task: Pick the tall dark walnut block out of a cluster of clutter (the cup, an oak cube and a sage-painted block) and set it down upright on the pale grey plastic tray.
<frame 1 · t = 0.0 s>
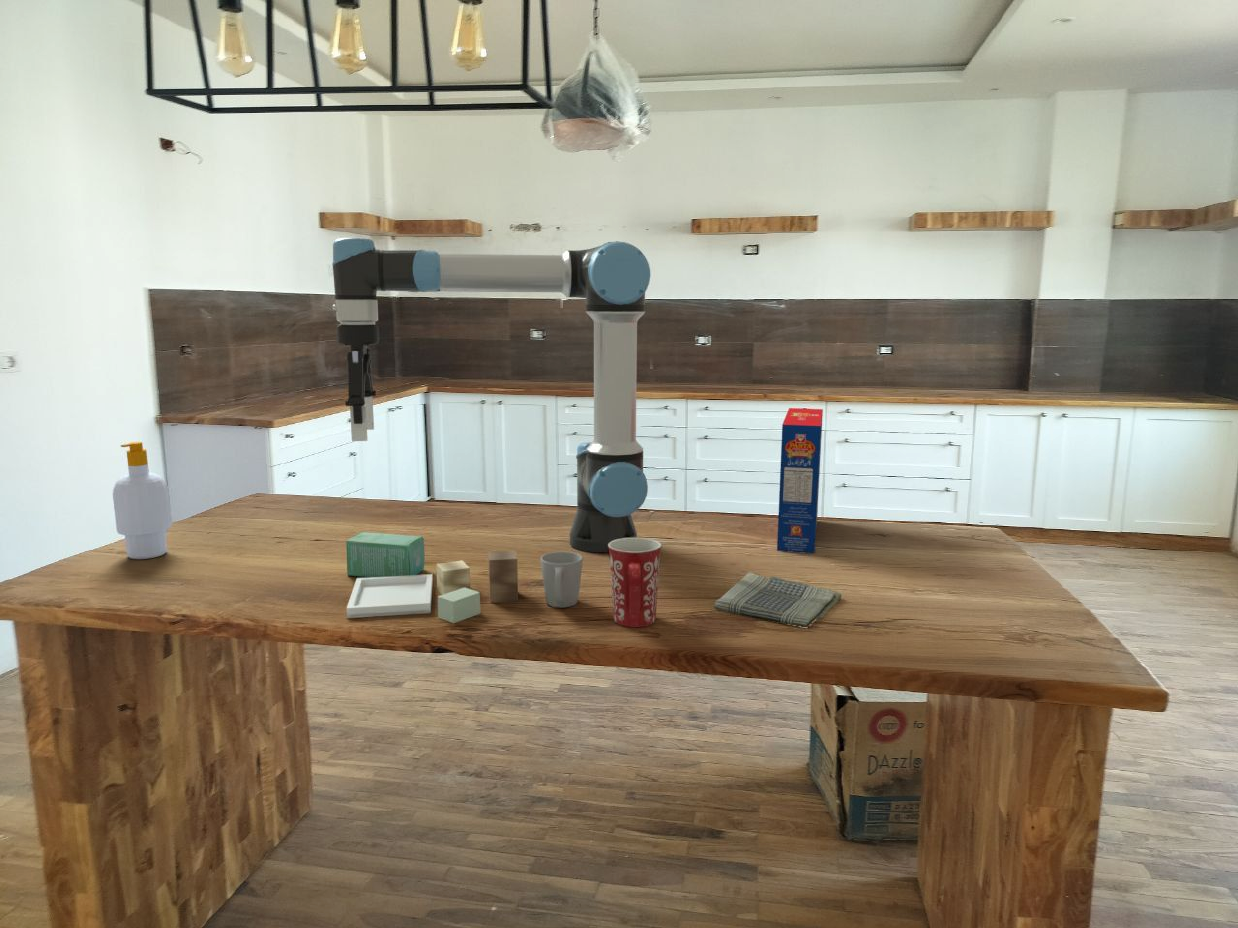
hand: (363, 435, 164), 28 cm above the table, fingers open, 13 cm apart
cup: (561, 605, 153), on the table
tray: (392, 599, 156), on the table
mug: (633, 624, 145), on the table
box: (387, 574, 171), on the table
soap bottle: (147, 555, 181), on the table
walnut block: (503, 597, 157), on the table
oak block: (453, 591, 160), on the table
sage block: (459, 616, 148), on the table
pasta box: (798, 535, 199), on the table
dish towel: (778, 607, 155), on the table
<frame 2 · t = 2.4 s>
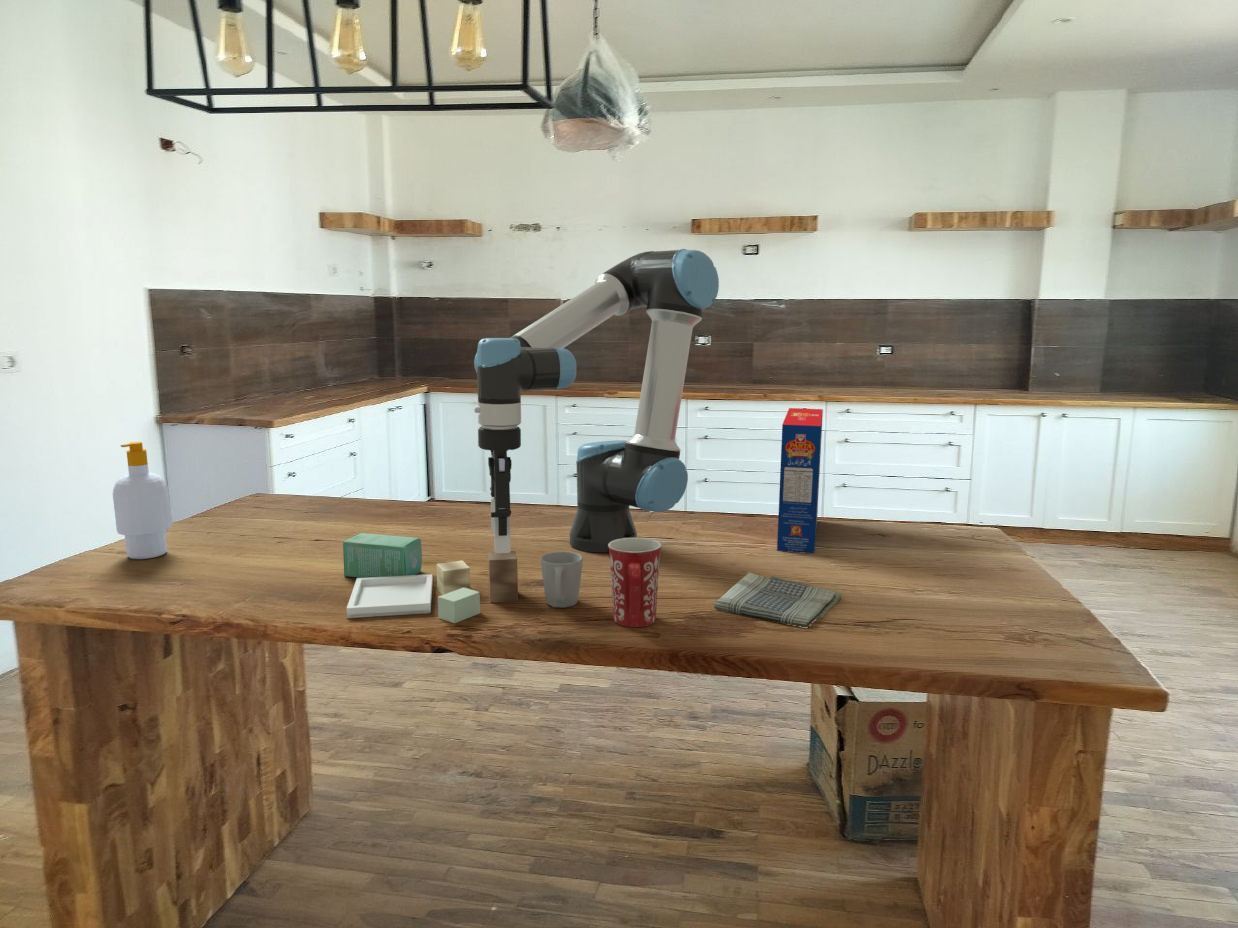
hand: (500, 542, 155), 11 cm above the table, fingers open, 13 cm apart
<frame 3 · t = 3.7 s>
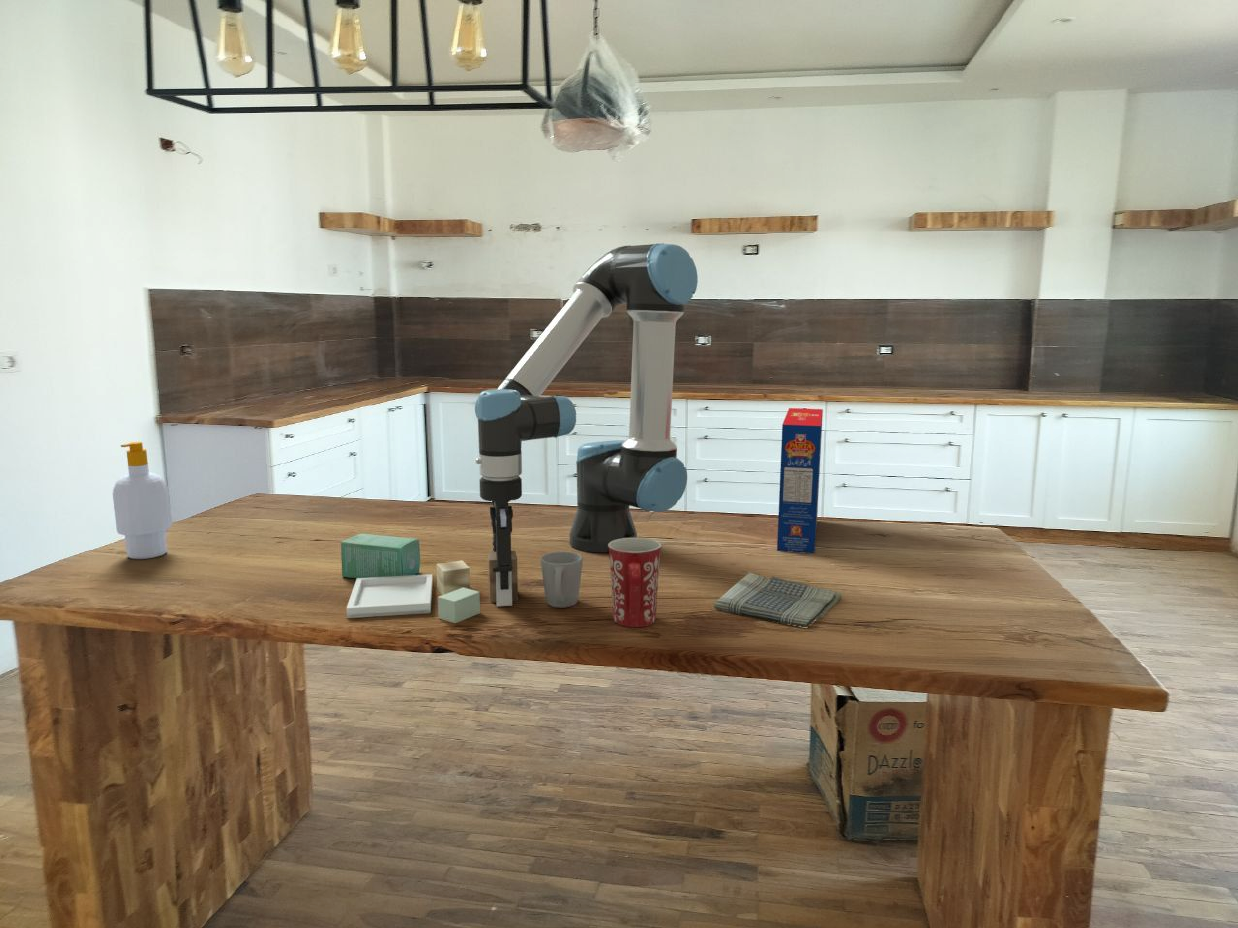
hand: (502, 595, 157), 0 cm above the table, fingers open, 9 cm apart
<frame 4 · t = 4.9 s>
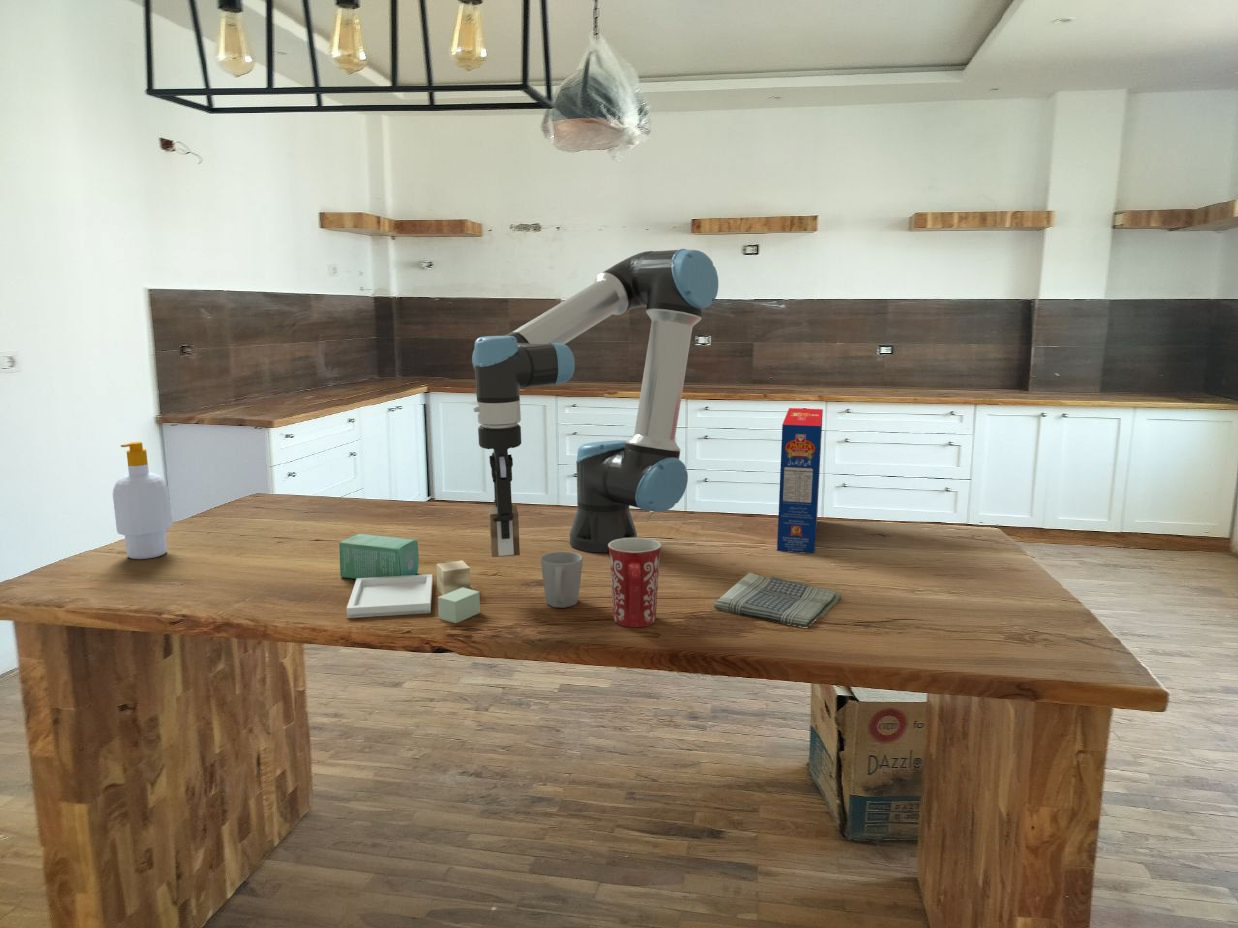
hand: (505, 549, 156), 9 cm above the table, fingers closed on walnut block, 5 cm apart
walnut block: (505, 551, 156), point 8 cm above the table, touching gripper
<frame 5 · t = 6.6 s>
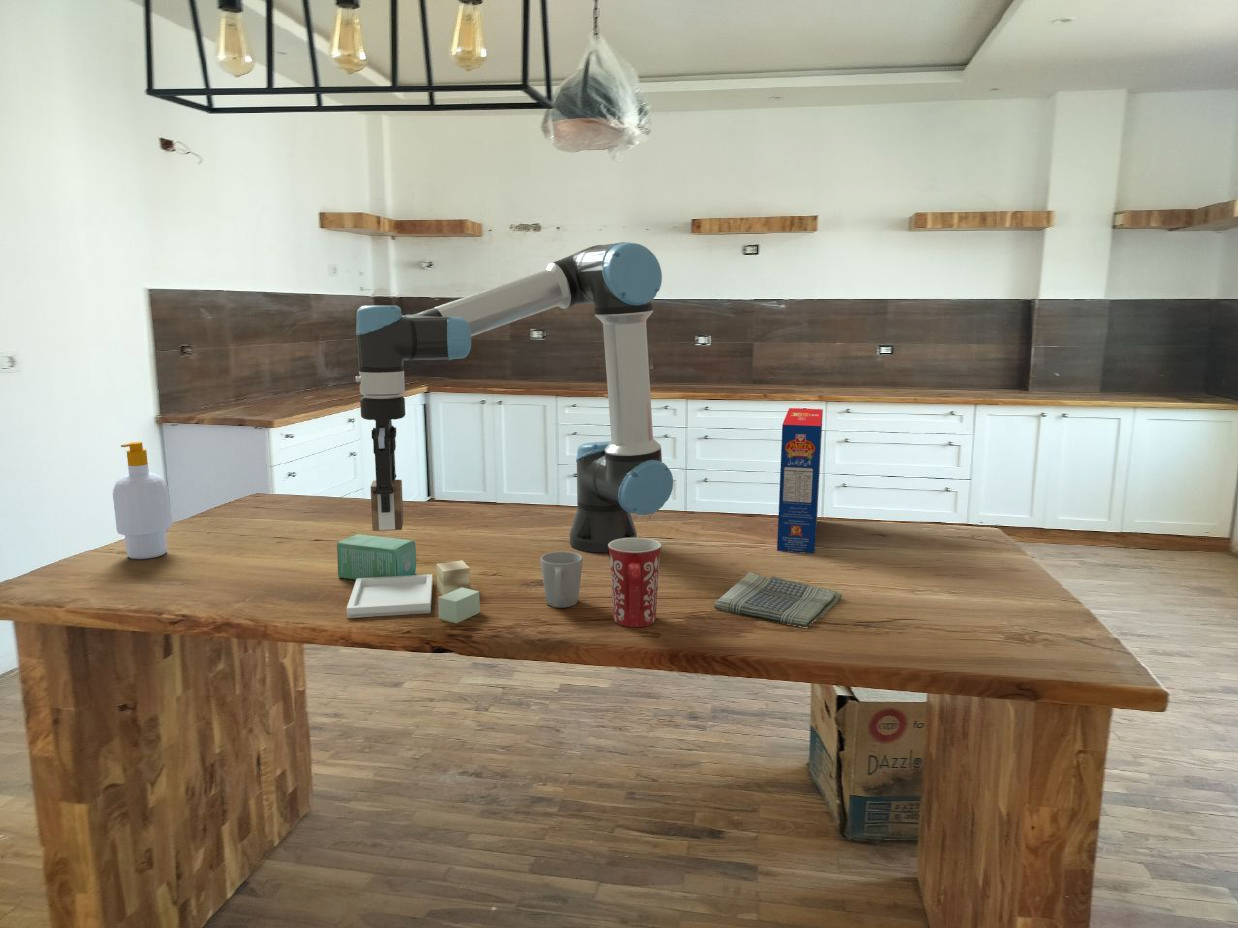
hand: (388, 524, 153), 14 cm above the table, fingers closed on walnut block, 5 cm apart
walnut block: (388, 526, 153), point 14 cm above the table, touching gripper
when the fingers open (2 cm above the table, at t = 8.6 s): walnut block stays where it is, resting on tray.
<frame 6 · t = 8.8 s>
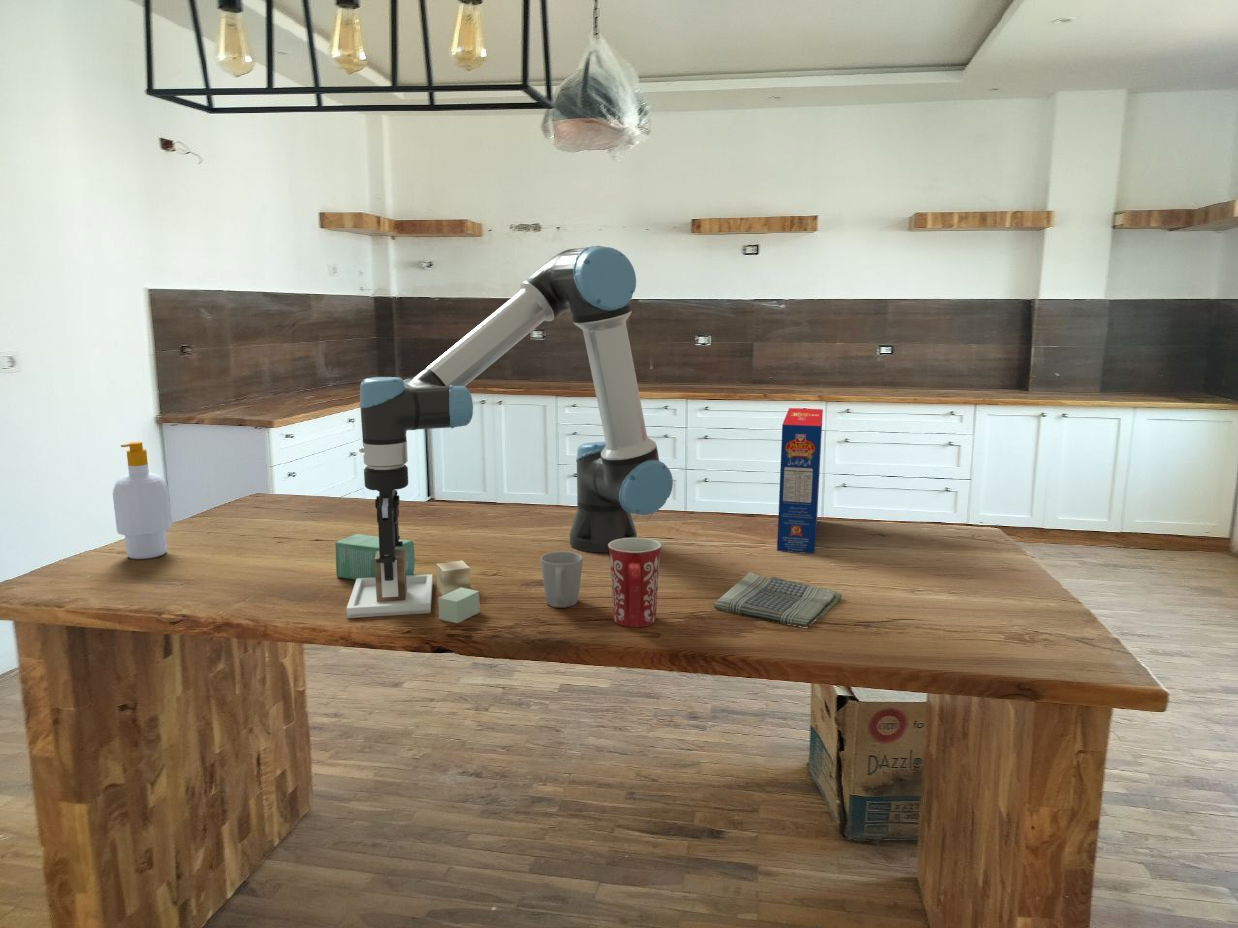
hand: (391, 588, 155), 2 cm above the table, fingers open, 7 cm apart
walnut block: (392, 596, 156), point 1 cm above the table, touching tray
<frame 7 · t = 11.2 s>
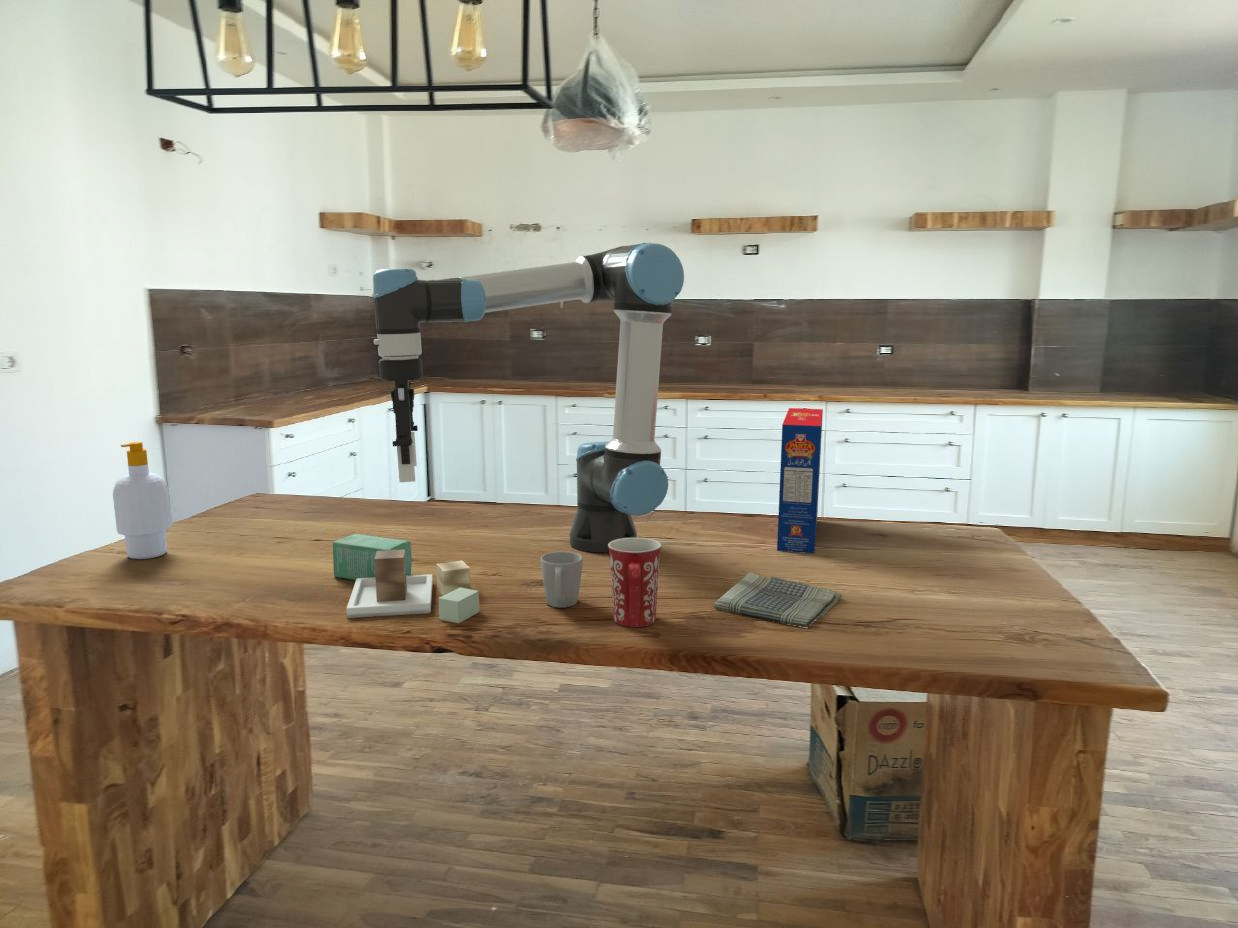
hand: (408, 473, 157), 22 cm above the table, fingers open, 13 cm apart
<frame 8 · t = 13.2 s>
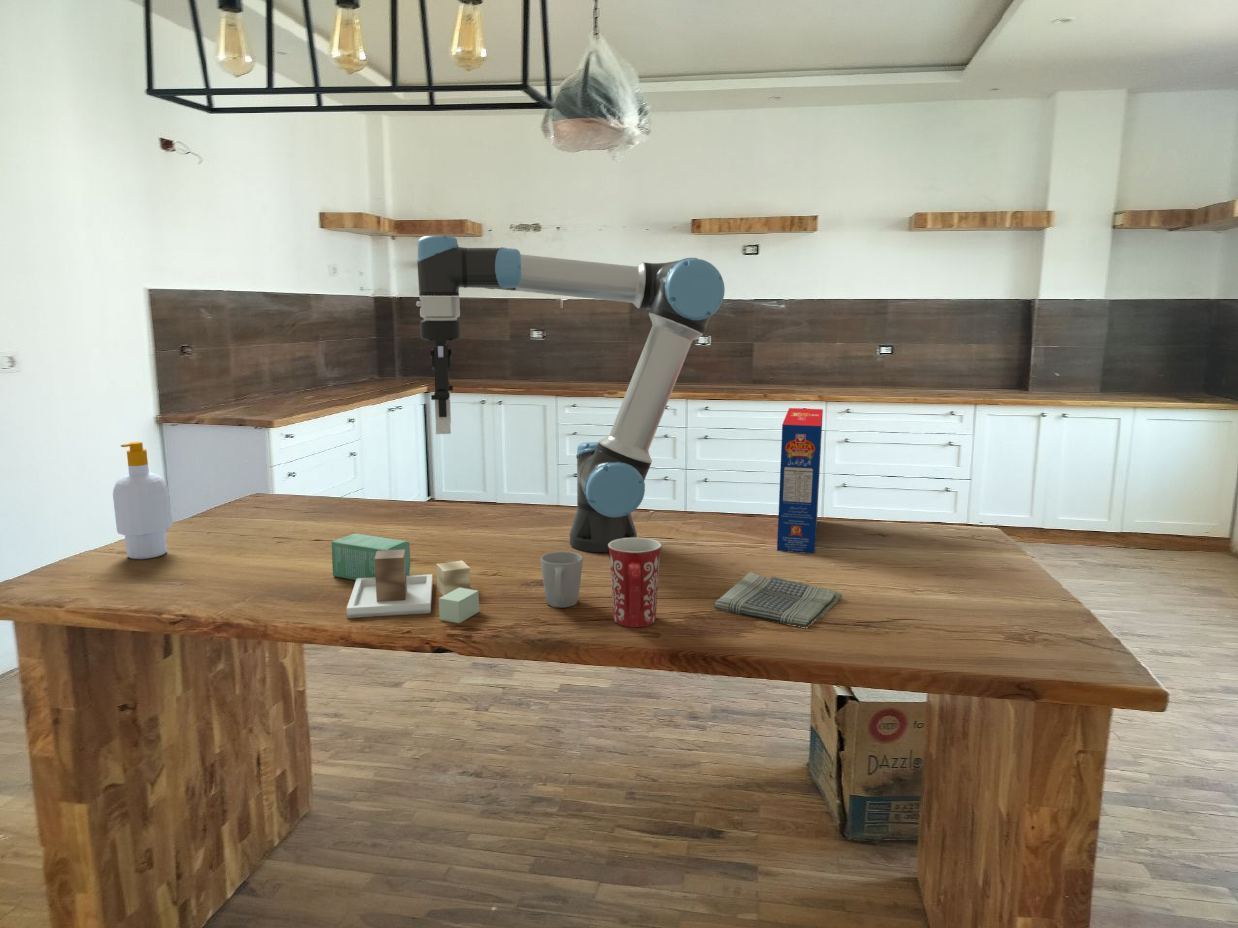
hand: (443, 428, 168), 29 cm above the table, fingers open, 13 cm apart
at the end: walnut block inside the target area on the tray (0.1 cm from its centre), point 0.6 cm above the tray's base; walnut block tilted 0°; oak block moved 0.1 cm from its start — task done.
